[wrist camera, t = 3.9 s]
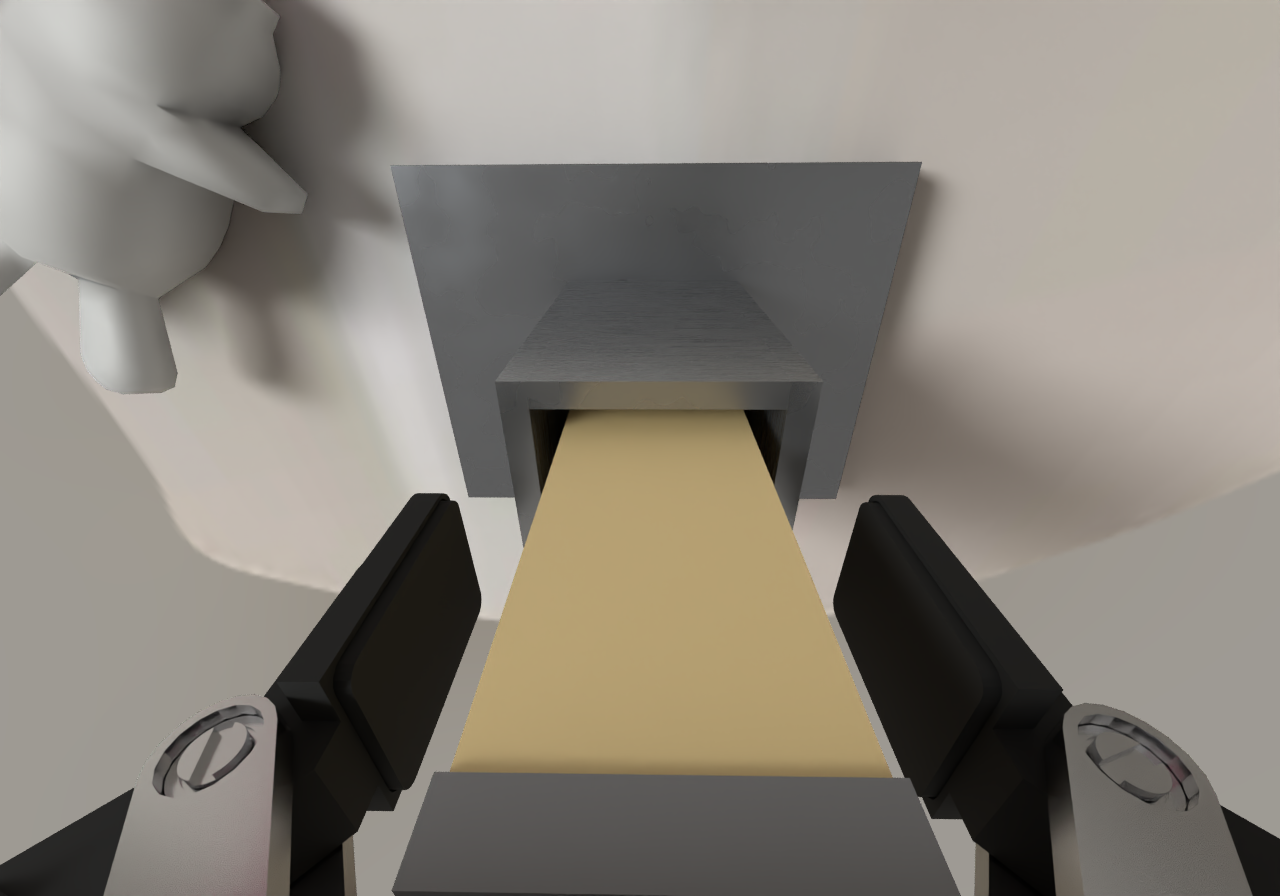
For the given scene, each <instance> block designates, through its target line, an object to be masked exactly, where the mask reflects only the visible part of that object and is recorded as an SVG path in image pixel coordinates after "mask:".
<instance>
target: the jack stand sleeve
mask: <svg viewBox="0 0 1280 896" xmlns="http://www.w3.org/2000/svg"><path fill="white" fill-rule="evenodd" d="M921 164H922V162H829V163H682V164H535V165H390V166H391V170H392V174H393V179H394V183H395V187H396V191H397V195H398V200H399V204H400V208H401V212H402V217H403V221H404V225H405V229H406V234H407V238H408V242H409V246H410V250H411V255H412V259H413V263H414V267H415V272H416V276H417V280H418V284H419V289H420V293H421V297H422V301H423V306H424V310H425V314H426V318H427V322H428V327H429V331H430V335H431V339H432V344H433V348H434V352H435V356H436V361H437V365H438V369H439V373H440V378H441V382H442V386H443V390H444V394H445V399H446V403H447V407H448V411H449V416H450V420H451V424H452V428H453V433H454V437H455V441H456V445H457V449H458V454H459V458H460V462H461V466H462V471H463V475H464V479H465V483H466V488H467V492H468V496H469V497H515V501H516V507H517V513H518V518H519V524H520V530H521V536H522V541H523V547H524V546H525V543H526V540H527V537H528V534H529V531H530V528H531V525H532V522H533V519H534V516H535V513H536V510H537V507H538V504H539V501H540V498H541V495H542V492H543V489H544V486H545V483H546V480H547V477H548V474H549V471H550V468H551V465H552V462H553V459H554V456H555V453H556V450H557V447H558V444H559V441H560V438H561V435H562V432H563V429H564V426H565V423H566V420H567V417H568V414H569V411H570V409H718V410H744V413H745V415H746V418H747V420H748V423H749V425H750V428H751V430H752V433H753V435H754V438H755V440H756V442H757V445H758V447H759V450H760V452H761V455H762V457H763V460H764V462H765V465H766V467H767V470H768V472H769V474H770V477H771V479H772V482H773V484H774V487H775V489H776V492H777V494H778V497H779V499H780V502H781V504H782V506H783V509H784V511H785V514H786V516H787V519H788V521H789V524H790V526H791V529H792V530H793V525H794V521H795V516H796V511H797V506H798V501H799V499H836V496H837V492H838V489H839V485H840V481H841V477H842V473H843V469H844V465H845V461H846V457H847V453H848V450H849V446H850V442H851V438H852V434H853V430H854V426H855V422H856V418H857V414H858V410H859V407H860V403H861V399H862V395H863V391H864V387H865V383H866V379H867V375H868V371H869V367H870V364H871V360H872V356H873V352H874V348H875V344H876V340H877V336H878V332H879V328H880V325H881V321H882V317H883V313H884V309H885V305H886V301H887V297H888V293H889V289H890V285H891V282H892V278H893V274H894V270H895V266H896V262H897V258H898V254H899V250H900V246H901V242H902V239H903V235H904V231H905V227H906V223H907V219H908V215H909V211H910V207H911V203H912V200H913V196H914V192H915V188H916V184H917V180H918V176H919V172H920V168H921Z"/></svg>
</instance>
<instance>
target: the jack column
mask: <svg viewBox="0 0 1280 896" xmlns="http://www.w3.org/2000/svg"><path fill="white" fill-rule="evenodd" d="M392 892H393V893H394V895H395V896H961V895H960V893H959V891H958V888H957V886H956V884H955V881H954V879H953V877H952V874H951V872H950V870H949V868H948V865H947V863H946V861H945V858H944V856H943V854H942V852H941V849H940V847H939V845H938V842H937V840H936V838H935V835H934V833H933V831H932V828H931V826H930V824H929V821H928V819H927V817H926V815H925V812H924V810H923V808H922V806H921V804H920V801H919V798H918V796H917V794H916V791H915V789H914V787H913V785H912V782H911V780H910V778H893V777H892V775H891V772H890V770H889V767H888V765H887V762H886V760H885V758H884V755H883V753H882V750H881V748H880V745H879V743H878V740H877V738H876V736H875V733H874V730H873V728H872V726H871V723H870V721H869V718H868V716H867V714H866V711H865V709H864V706H863V703H862V701H861V698H860V696H859V694H858V691H857V689H856V686H855V684H854V681H853V679H852V676H851V674H850V671H849V669H848V666H847V664H846V662H845V659H844V657H843V654H842V652H841V649H840V647H839V644H838V642H837V640H836V637H835V634H834V632H833V630H832V627H831V625H830V622H829V620H828V617H827V615H826V612H825V610H824V607H823V605H822V602H821V600H820V598H819V595H818V593H817V590H816V588H815V585H814V583H813V580H812V578H811V575H810V573H809V570H808V568H807V566H806V563H805V561H804V558H803V556H802V553H801V551H800V548H799V546H798V543H797V541H796V538H795V536H794V534H793V531H792V529H791V526H790V524H789V521H788V519H787V516H786V514H785V511H784V509H783V506H782V504H781V502H780V499H779V497H778V494H777V492H776V489H775V487H774V484H773V482H772V479H771V477H770V474H769V472H768V470H767V467H766V465H765V462H764V460H763V457H762V455H761V452H760V450H759V447H758V445H757V442H756V440H755V438H754V435H753V433H752V430H751V428H750V425H749V423H748V420H747V418H746V415H745V413H744V410H718V409H570V411H569V414H568V417H567V420H566V423H565V426H564V429H563V432H562V435H561V438H560V441H559V444H558V447H557V450H556V453H555V456H554V459H553V462H552V465H551V468H550V471H549V474H548V477H547V480H546V483H545V486H544V489H543V492H542V495H541V498H540V501H539V504H538V507H537V510H536V513H535V516H534V519H533V522H532V525H531V528H530V531H529V534H528V537H527V540H526V543H525V546H524V549H523V552H522V555H521V558H520V561H519V564H518V567H517V570H516V573H515V576H514V579H513V582H512V585H511V588H510V591H509V594H508V597H507V600H506V603H505V607H504V610H503V613H502V616H501V619H500V622H499V625H498V628H497V631H496V634H495V637H494V640H493V643H492V646H491V649H490V652H489V655H488V658H487V661H486V664H485V667H484V670H483V673H482V676H481V679H480V682H479V685H478V688H477V691H476V694H475V697H474V700H473V703H472V706H471V710H470V712H469V715H468V718H467V721H466V724H465V727H464V730H463V733H462V736H461V739H460V742H459V745H458V748H457V751H456V754H455V757H454V760H453V763H452V766H451V770H450V772H434V774H433V777H432V779H431V782H430V785H429V788H428V791H427V793H426V796H425V799H424V802H423V804H422V808H421V810H420V813H419V816H418V819H417V821H416V824H415V827H414V830H413V833H412V835H411V838H410V841H409V844H408V846H407V850H406V852H405V855H404V858H403V860H402V863H401V866H400V869H399V872H398V874H397V877H396V880H395V883H394V886H393V888H392Z"/></svg>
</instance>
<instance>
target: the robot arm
mask: <svg viewBox="0 0 1280 896" xmlns="http://www.w3.org/2000/svg"><path fill="white" fill-rule="evenodd" d="M833 606H834V612H835V615H836V618H837V620H838V622H839V625H840V627H841V629H842V632H843V634H844V636H845V639H846V641H847V643H848V646H849V648H850V650H851V653H852V655H853V657H854V660H855V662H856V664H857V667H858V669H859V671H860V674H861V676H862V679H863V681H864V683H865V686H866V688H867V690H868V692H869V695H870V697H871V700H872V702H873V704H874V706H875V709H876V711H877V714H878V716H879V718H880V721H881V723H882V725H883V728H884V730H885V732H886V735H887V737H888V739H889V742H890V744H891V747H892V749H893V751H894V754H895V756H896V758H897V761H898V763H899V765H900V767H901V770H902V772H903V775H904V777H905V778H910V780H911V782H912V785H913V787H914V789H915V791H916V794H917V796H918V797H922V798H923V800H924V803H925V805H926V807H927V809H928V812H929V814H930V816H931V818H932V819H963V821H964V823H965V825H966V827H967V830H968V832H969V834H970V836H971V838H972V840H973V841H974V842H975V843H976V847H975V848H976V850H975V889H974V896H1280V839H1279V838H1277V837H1276V836H1274V835H1272V834H1270V833H1269V832H1267V831H1265V830H1263V829H1262V828H1260V827H1258V826H1256V825H1255V824H1253V823H1251V822H1249V821H1247V820H1246V819H1244V818H1242V817H1240V816H1238V815H1237V814H1235V813H1233V812H1232V811H1230V810H1228V809H1226V808H1225V807H1223V806H1221V805H1220V804H1219V801H1218V798H1217V795H1216V793H1215V791H1214V790H1213V788H1212V786H1211V784H1210V782H1209V780H1208V778H1207V776H1206V775H1205V774H1204V772H1203V771H1202V770H1201V769H1200V768H1199V766H1198V765H1197V764H1196V763H1195V762H1194V761H1193V760H1192V758H1191V757H1190V756H1189V755H1188V754H1187V753H1186V752H1185V751H1183V750H1182V749H1181V748H1180V747H1179V746H1178V745H1177V744H1175V743H1174V742H1173V741H1172V740H1171V739H1170V738H1169V737H1167V736H1166V735H1164V734H1163V733H1161V732H1160V731H1158V730H1156V729H1155V728H1154V727H1152V726H1151V725H1149V724H1147V723H1146V722H1144V721H1142V720H1140V719H1138V718H1136V717H1134V716H1132V715H1130V714H1128V713H1126V712H1124V711H1121V710H1118V709H1114V708H1112V707H1108V706H1105V705H1100V704H1089V703H1084V704H1080V705H1076V706H1072V704H1071V703H1070V702H1069V701H1068V699H1067V698H1066V697H1065V696H1064V695H1063V693H1062V691H1063V689H1062V687H1061V686H1060V685H1059V684H1058V683H1057V681H1056V680H1055V679H1054V678H1053V676H1052V675H1051V674H1050V673H1049V671H1048V670H1047V669H1046V668H1045V666H1044V665H1043V664H1042V663H1041V661H1040V660H1039V659H1038V658H1037V657H1036V655H1035V654H1034V653H1033V652H1032V650H1031V649H1030V648H1029V647H1028V645H1027V644H1026V643H1025V642H1024V640H1023V639H1022V638H1021V637H1020V635H1019V634H1018V633H1017V632H1016V630H1015V629H1014V628H1013V627H1012V626H1011V624H1010V623H1009V622H1008V621H1007V619H1006V618H1005V617H1004V616H1003V614H1002V613H1001V612H1000V611H999V609H998V608H997V607H996V606H995V604H994V603H993V602H992V601H991V599H990V598H989V597H988V596H987V595H986V593H985V592H984V591H983V590H982V588H981V587H980V586H979V585H978V583H977V582H976V581H975V580H974V578H973V577H972V576H971V575H970V573H969V572H968V571H967V570H966V569H965V567H964V566H963V565H962V564H961V562H960V561H959V560H958V559H957V557H956V556H955V555H954V554H953V552H952V551H951V550H950V549H949V547H948V546H947V545H946V544H945V542H944V541H943V540H942V539H941V538H940V536H939V535H938V534H937V533H936V531H935V530H934V529H933V528H932V526H931V525H930V524H929V523H928V521H927V520H926V519H925V518H924V516H923V515H922V514H921V513H920V512H919V510H918V509H917V508H916V507H915V505H914V504H913V503H912V502H911V500H910V499H909V498H908V497H906V496H903V495H874V496H872V497H871V498H870V499H869V502H865V503H862V504H861V506H860V508H859V512H858V515H857V518H856V522H855V525H854V529H853V532H852V536H851V539H850V542H849V546H848V549H847V553H846V556H845V560H844V563H843V566H842V570H841V573H840V577H839V580H838V584H837V587H836V590H835V594H834V598H833ZM480 608H481V592H480V588H479V584H478V580H477V576H476V572H475V568H474V564H473V560H472V556H471V552H470V548H469V544H468V540H467V536H466V532H465V529H464V525H463V521H462V517H461V513H460V509H459V505H458V503H457V502H456V501H450V498H449V497H448V495H447V494H444V493H417V494H414V495H413V496H412V497H411V498H410V500H409V501H408V503H407V504H406V505H405V507H404V508H403V509H402V511H401V512H400V513H399V515H398V516H397V518H396V519H395V520H394V522H393V523H392V524H391V526H390V527H389V528H388V530H387V531H386V533H385V534H384V535H383V537H382V538H381V539H380V541H379V542H378V543H377V545H376V546H375V548H374V549H373V550H372V552H371V553H370V554H369V556H368V557H367V558H366V560H365V561H364V563H363V564H362V565H361V566H360V567H359V568H358V569H357V571H356V572H355V573H354V575H353V576H352V577H351V579H350V580H349V581H348V583H347V584H346V586H345V587H344V588H343V590H342V591H341V592H340V594H339V595H338V596H337V598H336V599H335V601H334V602H333V603H332V605H331V606H330V607H329V609H328V610H327V611H326V613H325V614H324V616H323V617H322V618H321V620H320V621H319V622H318V624H317V625H316V626H315V628H314V629H313V631H312V632H311V633H310V634H309V636H308V637H307V639H306V640H305V641H304V643H303V644H302V645H301V647H300V648H299V650H298V651H297V652H296V654H295V655H294V656H293V658H292V659H291V660H290V662H289V663H288V665H287V666H286V667H285V669H284V670H283V671H282V673H281V674H280V675H279V677H278V678H277V679H276V681H275V682H274V684H273V685H272V686H271V688H270V689H269V690H268V692H267V693H266V694H265V696H264V697H262V696H259V695H255V694H254V695H239V696H235V697H232V698H229V699H225V700H222V701H219V702H217V703H215V704H213V705H211V706H209V707H207V708H205V709H203V710H201V711H199V712H197V713H196V714H194V715H193V716H192V717H190V718H189V719H187V720H186V721H184V722H183V723H181V724H180V725H179V726H178V727H176V728H175V729H174V730H173V731H172V732H171V733H170V734H169V735H168V736H167V737H166V738H165V739H163V740H162V741H161V742H160V743H159V745H158V746H157V747H156V748H155V750H154V751H153V752H152V754H151V755H150V756H149V758H148V759H147V760H146V762H145V763H144V766H143V768H142V770H141V772H140V774H139V777H138V779H137V781H136V785H135V788H133V789H131V790H129V791H127V792H126V793H124V794H122V795H120V796H119V797H117V798H115V799H114V800H112V801H110V802H108V803H107V804H105V805H103V806H101V807H100V808H98V809H96V810H95V811H93V812H92V813H89V814H88V815H86V816H84V817H83V818H81V819H79V820H77V821H76V822H74V823H72V824H71V825H69V826H67V827H65V828H63V829H62V830H60V831H58V832H57V833H55V834H53V835H51V836H50V837H48V838H46V839H45V840H43V841H41V842H39V843H38V844H36V845H34V846H32V847H31V848H29V849H27V850H26V851H24V852H22V853H20V854H19V855H17V856H15V857H14V858H12V859H10V860H8V861H7V862H5V863H3V864H1V865H0V896H357V892H356V891H357V890H356V876H355V860H354V843H353V835H354V834H355V833H356V832H358V829H359V827H360V825H361V822H362V820H363V818H364V816H365V813H366V811H394V808H395V806H396V803H397V801H398V798H399V796H400V794H401V791H402V790H407V789H409V788H410V787H411V786H412V784H413V782H414V780H415V778H416V776H417V773H418V771H419V768H420V766H421V763H422V760H423V758H424V755H425V753H426V750H427V747H428V745H429V742H430V740H431V737H432V734H433V732H434V729H435V727H436V724H437V721H438V719H439V716H440V713H441V711H442V708H443V706H444V703H445V701H446V698H447V695H448V693H449V690H450V687H451V685H452V682H453V680H454V677H455V674H456V672H457V669H458V667H459V664H460V662H461V659H462V656H463V654H464V651H465V649H466V646H467V643H468V640H469V638H470V636H471V633H472V630H473V628H474V625H475V622H476V620H477V617H478V615H479V612H480Z"/></svg>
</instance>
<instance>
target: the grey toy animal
mask: <svg viewBox="0 0 1280 896" xmlns="http://www.w3.org/2000/svg"><path fill="white" fill-rule="evenodd" d="M279 18H280V16H279V15H278V14H277V13H276V12H275V11H274V10H273V9H272V8H270V7H269V6H268V5H267V4H266V3H265V2H264V1H262V0H0V296H1V295H2V294H3V293H4V292H5V291H6V290H7V289H8V288H9V287H11V286H12V285H13V284H14V283H15V282H16V281H17V280H18V279H19V278H20V277H22V276H23V275H24V274H25V273H26V272H27V271H28V270H29V269H30V268H31V267H33V266H34V265H35V264H36V263H40V264H43V265H46V266H48V267H51V268H54V269H57V270H60V271H62V272H65V273H68V274H69V275H71V276H73V277H75V278H76V279H78V282H79V314H80V349H81V357H82V359H83V362H84V365H85V367H86V370H87V372H88V373H89V374H90V375H91V376H92V377H93V378H94V380H95V381H96V382H97V383H99V384H100V385H101V386H103V387H104V388H105V389H106V390H110V391H113V392H117V393H120V394H143V393H162V392H164V391H167V390H169V389H171V388H174V387H175V383H176V378H177V374H178V373H177V369H176V365H175V361H174V357H173V353H172V349H171V345H170V342H169V338H168V334H167V330H166V326H165V322H164V318H163V314H162V311H161V307H160V303H159V299H158V298H159V297H161V296H163V295H164V294H166V293H167V292H169V291H170V290H172V289H173V288H175V287H176V286H178V285H179V284H181V283H182V282H184V281H185V280H187V279H188V278H190V277H191V276H193V275H195V274H196V273H198V272H199V271H201V270H202V269H204V268H205V267H206V266H207V265H208V263H209V262H210V260H211V259H212V258H213V256H214V255H215V253H216V252H217V251H218V249H219V248H220V245H221V243H222V241H223V238H224V236H225V233H226V231H227V228H228V226H229V222H230V217H231V212H232V207H233V202H234V200H235V201H237V202H240V203H242V204H245V205H247V206H249V207H252V208H254V209H257V210H259V211H262V212H270V213H292V214H302V212H303V209H304V205H305V202H306V199H307V196H308V194H307V193H306V192H305V191H304V190H303V189H302V188H301V187H300V186H299V185H298V184H297V183H296V182H295V181H294V180H293V179H292V178H291V177H290V176H289V175H288V174H287V173H286V172H285V171H284V170H283V169H282V168H281V167H280V166H279V165H278V164H277V163H276V162H275V161H274V160H273V159H272V158H271V157H270V156H269V155H268V154H267V153H266V152H265V151H264V150H263V149H261V148H260V147H259V146H258V145H257V144H256V143H255V142H254V141H253V140H252V139H251V138H250V137H249V136H248V135H247V134H246V133H245V132H244V131H243V130H242V129H241V128H240V127H242V126H244V125H246V124H248V123H250V122H252V121H254V120H256V119H259V118H261V117H263V116H264V115H265V113H266V112H267V111H268V109H269V108H270V106H271V105H272V103H273V102H274V100H275V99H276V98H277V95H278V91H279V88H280V71H281V70H280V65H279V61H278V57H277V52H276V48H275V43H274V39H273V33H274V30H275V28H276V25H277V23H278V20H279Z"/></svg>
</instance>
